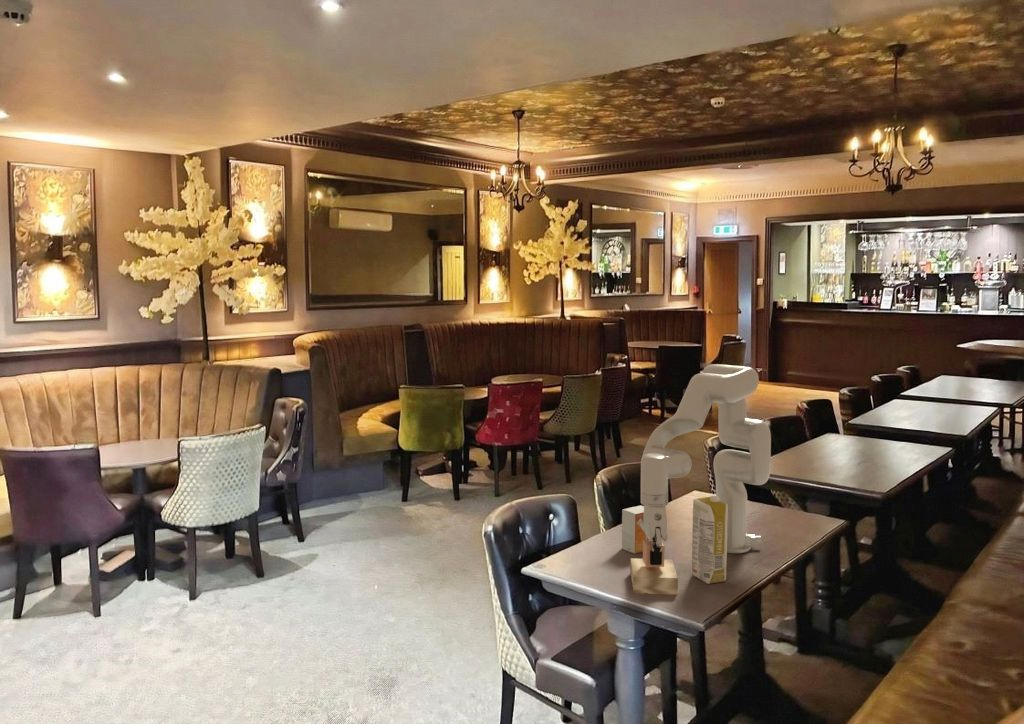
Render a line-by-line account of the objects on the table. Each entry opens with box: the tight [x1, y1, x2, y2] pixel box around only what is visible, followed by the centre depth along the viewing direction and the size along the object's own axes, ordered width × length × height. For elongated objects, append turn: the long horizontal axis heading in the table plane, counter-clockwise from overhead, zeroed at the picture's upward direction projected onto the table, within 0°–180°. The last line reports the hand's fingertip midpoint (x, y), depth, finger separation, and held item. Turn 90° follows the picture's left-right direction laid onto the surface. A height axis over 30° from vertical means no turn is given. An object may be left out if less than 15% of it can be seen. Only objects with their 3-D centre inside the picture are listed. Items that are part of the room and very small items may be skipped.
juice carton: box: [691, 495, 728, 585], centre depth 217 cm, size 9×8×24 cm
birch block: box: [629, 557, 679, 596], centre depth 215 cm, size 12×14×5 cm
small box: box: [621, 504, 646, 555], centre depth 242 cm, size 8×6×13 cm
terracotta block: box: [642, 540, 665, 567], centre depth 214 cm, size 5×5×6 cm
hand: (653, 560), depth 214 cm, fingers closed on terracotta block, 5 cm apart
